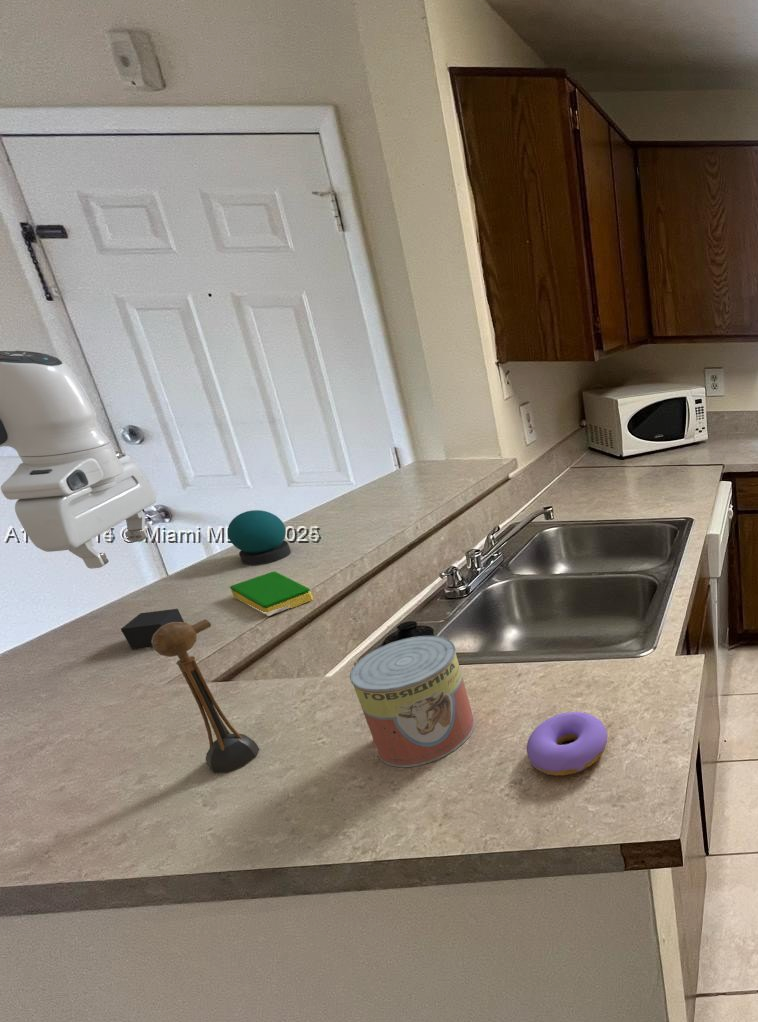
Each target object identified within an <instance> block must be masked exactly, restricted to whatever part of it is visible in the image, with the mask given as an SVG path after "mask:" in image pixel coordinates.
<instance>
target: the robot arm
mask: <svg viewBox="0 0 758 1022" xmlns="http://www.w3.org/2000/svg"><path fill="white" fill-rule="evenodd" d="M2 447H9V448H12V449H14V450H15V451H16V452H17V454H18V456H19V458H20V460H21V463H19V465H17V468H16V469H15V470H14V472H13V473H12V474H10V476H9V477H8V478H7V479H6V480H5V481H4V482H2V484H1V485H0V491H1V494H2V495H3V497H4V498H6V499H7V500H10V501H12V500H14V501H15V500H16V502H15V504H14V511H15V514H16V517H17V519H18V521H19V523H20V525H21V527H22V528H23V530H24V532H25V534H26V535H27V536H28V539H29V540H30V541H31V542H32V544H33V545H34V546H35V547H36V548H38V549H39V550H40V551H43V552H46V553H50V552H63V551H69V552H70V553H72V554H73V555H75V556H77V557H78V558H80V559H81V560H82V561H83V562H84V565H85V567H87V568H88V569H91V570H92V569H100V568H103V567H104V566H105V565H107V564H108V563H109V559H108V558H107V555H106V553H105V552H99V551H97V550H96V549H95V548H94V546H95V543H94V541H93V539H94V538H96V537H98V536H100V535H101V534H103V533H105V532H107V531H109V530H110V529H113V527H115V526H117V525H119V524H120V523H123V522H124V521H125V523H126V528H127V529H126V530H127V531H125V532H124V534H125V536H126V537H127V540H128V542H130V543H141V542H142V541H144V540H146V539H147V538H149V535H148V532H147V531H146V528H145V527H146V515H145V512H144V510H145V509H147V508H149V507H150V506H152V505H154V504H155V503H156V502H157V493H156V491H155V489H154V487H153V485H152V483H151V482H150V480H149V478H148V477H147V476H146V474H145V472H144V471H143V469H142V468H141V467H140V466H139V465H138V464H137V463H136V462H134V461H133V460H132V458H131V457H130V455H127V454H125V453H124V452H121V451H119V450H115V449H114V447H113V445H112V443H111V441H110V439H109V437H108V436H107V435H106V434H105V433H104V432H103V431H102V430H101V428H100V426H99V424H98V420H97V413H96V409H95V408H94V406H93V403H92V401H91V400H90V398H89V396H88V394H87V392H86V390H85V389H84V387H83V385H82V383H81V381H80V380H79V379H78V377H77V376H76V375H75V373H74V372H73V370H72V369H71V368H70V367H69V366H68V365H67V363H65V362H64V361H63V360H61V359H60V358H58V357H56V356H53V355H50V354H48V353H43V352H36V351H27V350H0V448H2Z"/></svg>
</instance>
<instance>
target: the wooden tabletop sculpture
mask: <svg viewBox="0 0 758 1022" xmlns="http://www.w3.org/2000/svg"><path fill="white" fill-rule="evenodd" d="M211 626H212V623H211V622H210V621H209V620H207V619H203V620H200V621H198V622H196V623H194V624H192V625H191V624H188V623H186V622H185V621H184V622H171V623H168V624H165V625H163V626H161V627H160V628H159V629H158V630H157V631H156V632H155V633H154V635H153V637H152V641H151V643H152V646H153V647H152V648H153V650H154V651H155V652H156V653H157V654H159V655H160V656H164V657H170V658H172V657H176V656H177V658H178V660H177V661H176V662H175V664H176V665H177V666H178V667H179V670H180V671H181V673H182V675H183V677H184V679H185V681H186V683H187V685H188V688H189V689H190V691H191V693H192V695H193V697H194V700H195V702H196V705H197V706H198V709H199V712H200V714H201V716H202V719H203V722H204V725H205V729H206V732H207V737H208V743H209V748H208V751H207V752H206V755H205V763H206V765H207V768H208V769H209V770H210V771H211V772H212V773H213V774H224V773H230V772H233V771H234V770H238V769H241V768H242V767H244V766H246V765H247V764H249V763H250V762H251V761H253V760H255V758H256V757H257V756H258V753H259V751H260V747H259V746H258V744H257V743H256V742H255V740H253V739H252V738H251V737H249V736H248V735H246V734H243V733H238V731H237V730H236V729H235V728H234V727H233V725H232V723H230V721H229V720H228V718H227V717H226V715H225V714H224V712H223V711H222V709H221V708H220V706H219V704H218V703H217V701H216V699H215V697H214V695H213V693H212V692H211V690H210V688H209V686H208V684H207V682H206V680H205V678H204V676H203V673H202V672H201V669H200V668H199V665H198V663H197V661H196V657H195V656H194V655H191V656H190V655H189V653H188V651H190V650H192V648H194V646H195V644H196V642H197V634H199V633H201V632H203V631H205V630H207V629H209V628H211ZM211 728H212V729H211ZM212 730H213V732H214V734H215V738H216V739H215V740H214V739H213V738H214V737H213V735H212V734H213V733H212ZM230 731H231V732H232V733H231V732H230Z"/></svg>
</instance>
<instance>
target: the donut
mask: <svg viewBox="0 0 758 1022" xmlns="http://www.w3.org/2000/svg"><path fill="white" fill-rule="evenodd" d="M607 730H608V729H607V728H606V727H605V725H604V723H603V722H602V721H601V720H600V719H599V718H598V717H596V716H594V715H593V714H590V713H587V712H583V711H567V712H562V713H559V714H556V715H553V716H550V717H548V718H547V719H546V720H543V722H541V723H540V724H539V725H538V726H536V728H535V729H533V731H532V732H531V734H530V735H529V737H528V740H527V743H526V753H527V757H528V760H529V762H530V764H531V766H532V767H533V768H535V769H537V770H538V771H539V772H541V773H543V774H546V775H548V776H550V775H551V776H558V775H561V776H567V775H568V774H569V775H573V774H577V773H579V772H581V771H584V770H586V769H588V768H589V767H591V766H592V765H593V764H595V763H596V762H597V761H598V760H599V759H600V758H601V756H602V755H603V753H604V751H605V749H606V747H607V742H608V732H607ZM568 741H573V742H570V743H566V744H562V743H565V742H568ZM587 767H588V768H587ZM576 772H577V773H576ZM572 773H573V774H572ZM569 775H568V776H569Z"/></svg>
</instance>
